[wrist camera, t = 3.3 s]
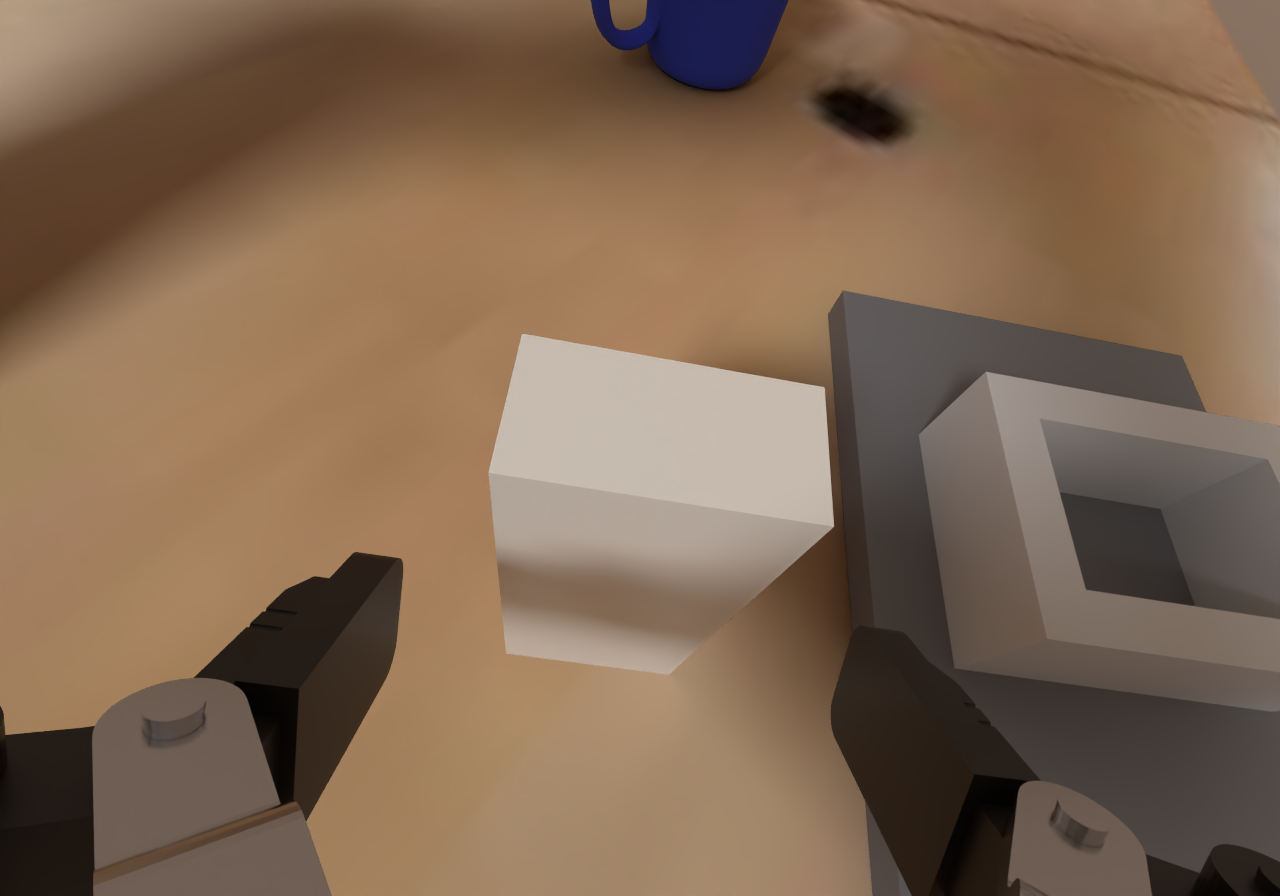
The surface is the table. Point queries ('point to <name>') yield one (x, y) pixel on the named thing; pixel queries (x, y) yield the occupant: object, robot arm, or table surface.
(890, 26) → the table surface
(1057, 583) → the block insertion holder
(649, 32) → the mug
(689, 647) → the rectangular block
